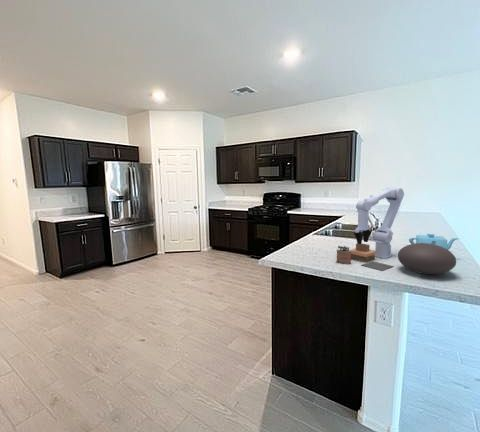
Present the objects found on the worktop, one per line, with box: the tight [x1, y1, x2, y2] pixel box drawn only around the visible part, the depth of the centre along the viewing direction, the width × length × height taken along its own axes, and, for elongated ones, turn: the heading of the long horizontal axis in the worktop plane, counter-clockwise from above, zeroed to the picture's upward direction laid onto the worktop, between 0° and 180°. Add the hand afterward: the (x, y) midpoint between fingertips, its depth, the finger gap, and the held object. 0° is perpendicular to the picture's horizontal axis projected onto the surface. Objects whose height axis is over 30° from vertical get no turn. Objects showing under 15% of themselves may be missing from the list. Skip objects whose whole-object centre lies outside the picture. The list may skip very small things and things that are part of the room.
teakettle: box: [408, 233, 460, 251], centre depth 162 cm, size 19×19×15 cm
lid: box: [349, 243, 377, 257], centre depth 162 cm, size 12×12×6 cm
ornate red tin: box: [335, 245, 352, 265], centre depth 154 cm, size 8×3×10 cm, turn 59°
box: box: [351, 254, 376, 263], centre depth 162 cm, size 10×10×4 cm
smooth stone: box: [397, 242, 457, 275], centre depth 136 cm, size 25×25×15 cm
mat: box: [360, 260, 394, 272], centre depth 148 cm, size 12×12×1 cm
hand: (362, 242), depth 161 cm, fingers open, 7 cm apart
